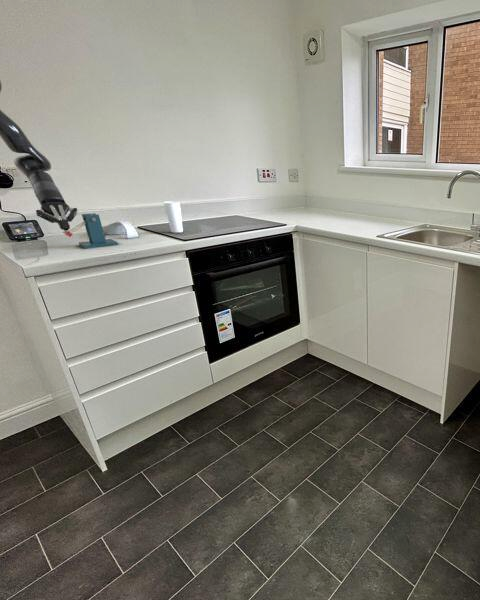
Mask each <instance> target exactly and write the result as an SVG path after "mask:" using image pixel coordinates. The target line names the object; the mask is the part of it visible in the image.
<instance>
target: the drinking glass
mask: <svg viewBox="0 0 480 600" xmlns="http://www.w3.org/2000/svg"><path fill="white" fill-rule="evenodd" d="M163 207H164V213H165V215H166V218H167V222H168V225H169V228H170V232H171V233H172V234H181V233H183V232H184V226H183V217H182V209H181V203H180V201H164V202H163Z"/></svg>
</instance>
